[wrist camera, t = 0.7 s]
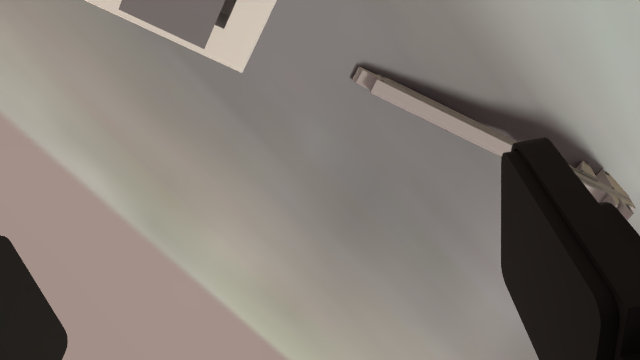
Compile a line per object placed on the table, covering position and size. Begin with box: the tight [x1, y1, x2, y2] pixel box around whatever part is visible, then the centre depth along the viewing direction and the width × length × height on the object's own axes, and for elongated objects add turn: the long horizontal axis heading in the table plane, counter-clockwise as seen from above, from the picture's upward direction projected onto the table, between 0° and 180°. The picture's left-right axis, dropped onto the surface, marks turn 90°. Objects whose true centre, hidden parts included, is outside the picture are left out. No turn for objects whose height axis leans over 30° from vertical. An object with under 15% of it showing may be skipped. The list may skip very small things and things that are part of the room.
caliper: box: [352, 67, 635, 220], centre depth 36 cm, size 20×1×6 cm, turn 66°
